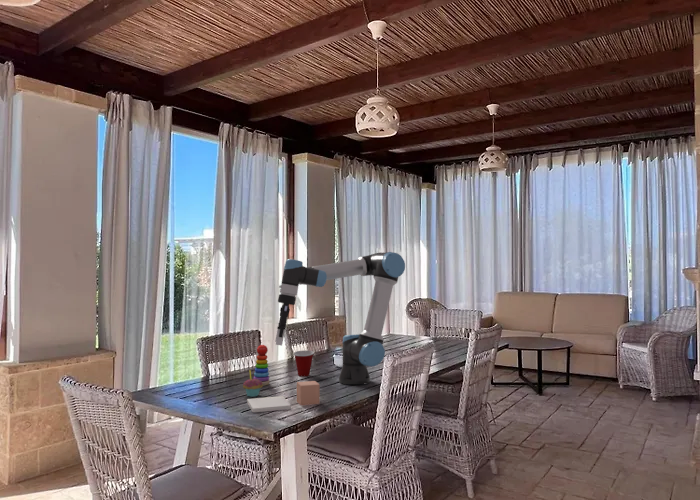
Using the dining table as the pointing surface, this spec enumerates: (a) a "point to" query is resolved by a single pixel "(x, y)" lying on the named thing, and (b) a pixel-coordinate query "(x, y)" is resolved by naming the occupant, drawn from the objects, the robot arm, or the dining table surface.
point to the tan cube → (308, 393)
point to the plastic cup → (303, 362)
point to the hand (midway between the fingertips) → (278, 343)
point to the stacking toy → (262, 366)
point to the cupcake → (252, 386)
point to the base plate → (268, 404)
